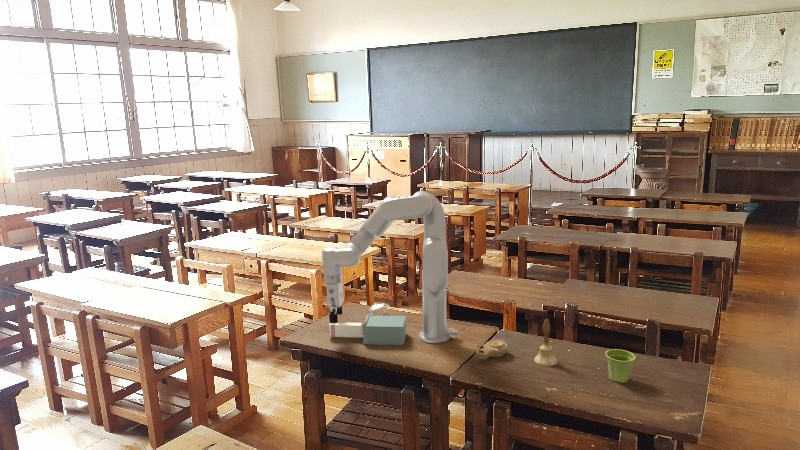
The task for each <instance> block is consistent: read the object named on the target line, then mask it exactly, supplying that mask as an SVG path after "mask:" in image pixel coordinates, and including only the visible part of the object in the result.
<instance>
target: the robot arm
mask: <svg viewBox="0 0 800 450" xmlns="http://www.w3.org/2000/svg"><path fill="white" fill-rule="evenodd" d="M444 210H445V209H444V208H443V206H442V203H441V202H440V200H439V199H438V198H437V197H436V196H435V195H433V194H432V193H429V192H428V191H425V190H419V191H416V192H415V193H414V194H413V195H412V196H405V197H397V196H396V195H388V196H386V197H385V198H384V199H383V200H382V201H381V202H380V204H378V206H377V207H376V208H375V209H374V211H373V212H372V213H371V214H370V215H369V217H367V219H366V220H365V222H363V224H362V225H361V227H360V229H359V230H358V231H357V232H356V233H355V235H354V236H353V237H351V239H350V240H349V241H348V243H347V244H346V245H345V247H343V249H340V248H339V247H338V246H329V247H328V246H327V247H325V248H323V249H322V251H321V260H322V271H323V283H324V284H326V300H327V301H326V303H327V307H328V309H329V310H328V315H329V317H328V318H329V319H328V320H329V324H330V323H338V322H339V320H338V315H342V314H343V303H344V301H345V298H344V290H343V282H344V279H343V278H344V277H343V276H344V275H343V267H344V268H353V267H356V266H357V265H358V264H359V262H360V260H361V257H362V256H363V255H364V253H366V251H367V249H369V247H370V246H371V245H372V244H373V243H374V242H375V241H376V240H378V239H379V238H381V237H382V236H383V235H384V234H385V232H386V231H387V230H388V229H389V227H390V226H391V225H392V224H393V223H394V222H396V221H397V222H398V221H405V220H412V219H420V218H423V242H422V271H421V282H422V283H421V285H422V330H421V331H420V332H419V333H418V338H419V339H420V340H421V341H422V342H424V343H429V344H442V343H445V342H447V341H449V340H450V339H451V335H456V336H458V329H455V328H453V327H452V328H449V327H448V324H447V283H448V275H449V274H448V273H449V271H448V270H449V269H448V268H449V266H448V265H449V262H448V261H449V253H448V252H449V251H448V250H449V249H448V247H447V243H446V242H447V240H446V232H447V231H446V215H445V211H444Z"/></svg>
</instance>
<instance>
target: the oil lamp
mask: <svg viewBox="0 0 800 450" xmlns="http://www.w3.org/2000/svg"><path fill="white" fill-rule="evenodd" d="M508 350H509V345H508V344H507V342H505V341H504V340H501V339H490V340H489V341H487V342H486V343H485V344H482V348H476V351H475V355H476V356H477V357H478V358H479V359H488V358H489V357H492V358H499V357H500V356H501V357H502V356H503V355H504V354H506V353H507V352H508Z"/></svg>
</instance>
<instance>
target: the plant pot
mask: <svg viewBox="0 0 800 450" xmlns="http://www.w3.org/2000/svg"><path fill="white" fill-rule="evenodd" d="M604 355H605V357H606V360H607V368H608V369H607V370H608V378H609V379H610V380H611V381H612V382H618V383H620V384H622V383H627V382H628V381H629V378H630V374H631V369H632V365H633V363H634V362H635V360H636V355H635V354H634V352H633V353H632V352H630V351H628V350H625V349H618V348H614V349H609V350H606V352H605V354H604Z"/></svg>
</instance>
